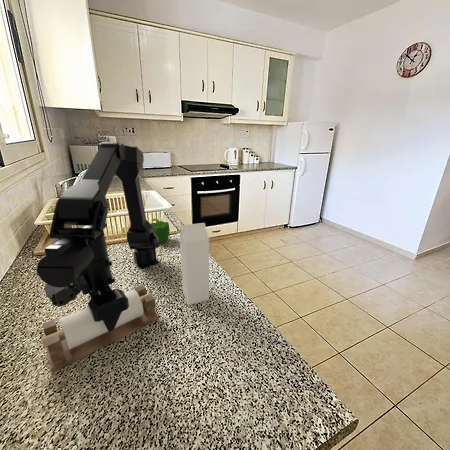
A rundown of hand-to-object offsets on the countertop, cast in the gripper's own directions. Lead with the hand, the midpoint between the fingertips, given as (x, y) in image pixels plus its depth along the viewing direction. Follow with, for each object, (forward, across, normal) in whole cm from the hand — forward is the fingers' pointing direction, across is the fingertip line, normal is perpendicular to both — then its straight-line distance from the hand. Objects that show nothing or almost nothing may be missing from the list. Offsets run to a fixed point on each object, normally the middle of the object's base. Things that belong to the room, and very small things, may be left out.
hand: (104, 317), depth 53 cm
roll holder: (+4, 0, 0) cm, 4 cm away
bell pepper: (+5, -37, +32) cm, 49 cm away
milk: (+4, +2, +23) cm, 24 cm away
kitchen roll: (-1, 0, 0) cm, 1 cm away
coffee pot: (+5, -41, +2) cm, 41 cm away
